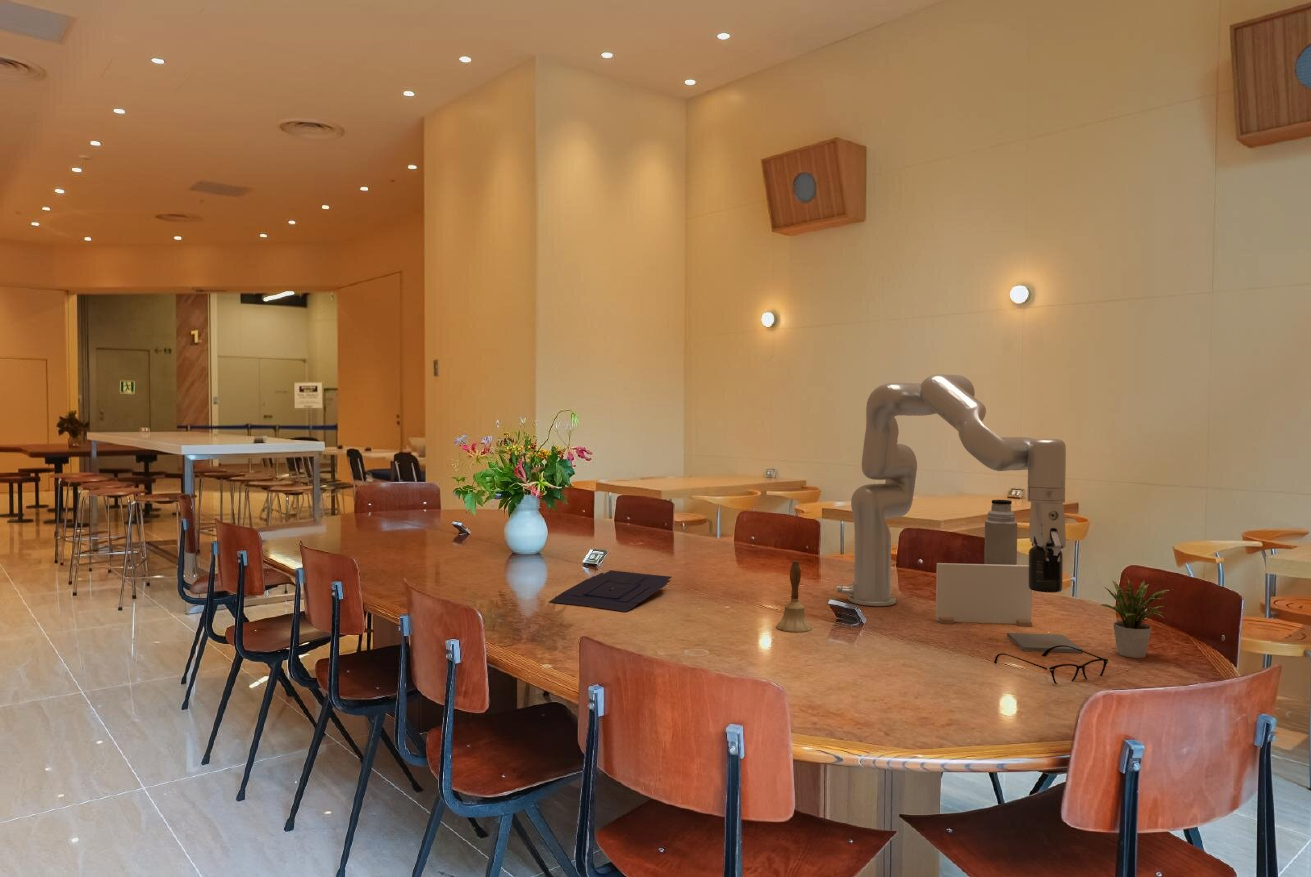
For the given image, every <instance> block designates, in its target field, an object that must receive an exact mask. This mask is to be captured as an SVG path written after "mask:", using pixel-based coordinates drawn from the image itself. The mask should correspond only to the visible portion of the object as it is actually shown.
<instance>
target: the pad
mask: <svg viewBox="0 0 1311 877" xmlns="http://www.w3.org/2000/svg"><path fill="white" fill-rule="evenodd" d="M1006 636H1007V637H1008V638H1009V640H1011V641H1012V642H1013V643H1014V644H1015V645H1016V646H1017V647H1018V648H1019V649H1020V650H1022V651H1024V652H1043V653H1044V652H1045V651H1046V650H1047V649H1049V648H1051V647H1054V646H1059V645H1064V646H1070V647H1073V648H1076V649H1079V650H1082V651H1083V648H1081V646H1078V645H1077V644H1076V643H1075V642H1074V641H1072V640H1070V639H1069V638H1068V637H1066V636H1065V635H1063V634H1057V633H1053V634H1052V633H1050V634H1049V633H1028V632H1027V633H1026V632H1025V633H1023V632H1007V633H1006ZM1070 647H1057V648H1054V649H1052V650H1051V651H1050V652H1049V653H1074V654H1075V653H1076V654H1083V652H1081V651H1079V650H1076V649H1073V648H1070Z"/></svg>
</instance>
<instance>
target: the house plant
mask: <svg viewBox="0 0 1311 877" xmlns="http://www.w3.org/2000/svg"><path fill="white" fill-rule="evenodd" d="M1126 579H1127V584H1128V586H1126V585H1123V588H1125V589H1126V591H1125V592H1124V590H1123V589H1122V588H1121V586H1120V585H1119V584H1118V583H1117V582H1116V581H1113V580H1111V581H1112V583H1113V585H1114V588H1115V591H1116V592H1115V591H1113V592H1112V591H1111V589H1110V588H1107V587H1106V586H1104V588H1105V589H1106V590H1107V591H1108V592H1109V594H1110V595H1111V596H1112V597H1113V599H1114V600H1115V601H1116V603H1117V604H1118V605H1113V606H1112V605H1110V604H1106V603H1104V604H1103V603H1102V604H1100V605H1099V607H1105V608H1108V609H1111V610H1114V611H1115V612H1116V613H1117V614H1119V616H1120V619H1121V620H1119V621H1115V622H1113V623H1112V624H1113V631H1114V638H1115V643H1116V644H1115V645H1116V650H1117V654H1118V655H1120V656H1123V657H1127V658H1133V659H1142V658H1146V656H1147V651H1148V648H1149V641H1150V637H1151V631H1152V626H1151V625H1150V624H1147V623H1145V622H1146V621H1147V620H1149V619H1150V618H1151V617H1153V616H1154V615H1156V616H1159V617H1162V618H1163V619H1165V618H1164V616H1163V614H1162V611H1159V610H1157V609H1158V608H1163V607H1166V606H1164V605H1158V606H1155V607H1149V606H1150V604H1151V603H1152V602H1153V601H1156V600H1163V599H1164V600H1165V597H1159V596H1161V595H1164V594H1167V591H1168V592H1169V589H1164V590H1160V591H1156V592H1155V593H1154V592H1153V593H1152V594H1151V595H1149V596H1148V597H1146V599H1144V597H1145V596H1146V594H1147V588H1148V587H1149V583H1147V584H1145V583H1146V582H1145V579H1143V580H1142V581H1141V583H1140V585H1139V587H1138V588H1137V589H1136V592H1135V594H1134V589H1133V588H1134V587H1132V583H1131V580H1130V579H1129V577H1128V576H1127V577H1126ZM1173 590H1174V589H1172V591H1173ZM1148 616H1149V617H1148Z"/></svg>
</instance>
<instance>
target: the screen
mask: <svg viewBox="0 0 1311 877" xmlns="http://www.w3.org/2000/svg"><path fill="white" fill-rule="evenodd" d="M935 576H936V580H935V581H936V586H935V587H936V589H935V592H936V593H935V594H936V595H935V621H937V622H940V624H948V625H954V624H955V622H956V623H980V624H981V623H983V624H987V623H988V624H1011V625H1013V624H1016V625H1017V626H1018V627H1033V621H1032V613H1033V612H1032V611H1033V606H1032V605H1033V604H1032V603H1033V602H1032V601H1033V590H1031V589H1030V588H1029V564H1028V565H1026V564H1017V565H996V564H984V563H955V562H954V563H952V562H950V563H947V562H944V563H943V562H936V575H935Z"/></svg>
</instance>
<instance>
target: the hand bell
mask: <svg viewBox="0 0 1311 877" xmlns="http://www.w3.org/2000/svg"><path fill="white" fill-rule="evenodd" d="M799 563H800V562H799V560H793V561H792V563H791V567H790V570H789V581H790V586H791V592H790V594H791V596H790V602H788V603H786V604H785V605H784V611H783V615H782V618H781V620H780V621H779V622H778V623H777V624H776V625H775V627H776V629H778V630H780V631H784V632H788V633H806V632H810V631H811V630H812V629H813V627H812V625H811V624H810V623H809V622H808V619H807V617H806V613H805V612H806V611H805V606H804V605H803V604H801V603H800V602H799V585H800V582H801V578H802V577H801V576H802V572H801V567H800V564H799Z"/></svg>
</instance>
